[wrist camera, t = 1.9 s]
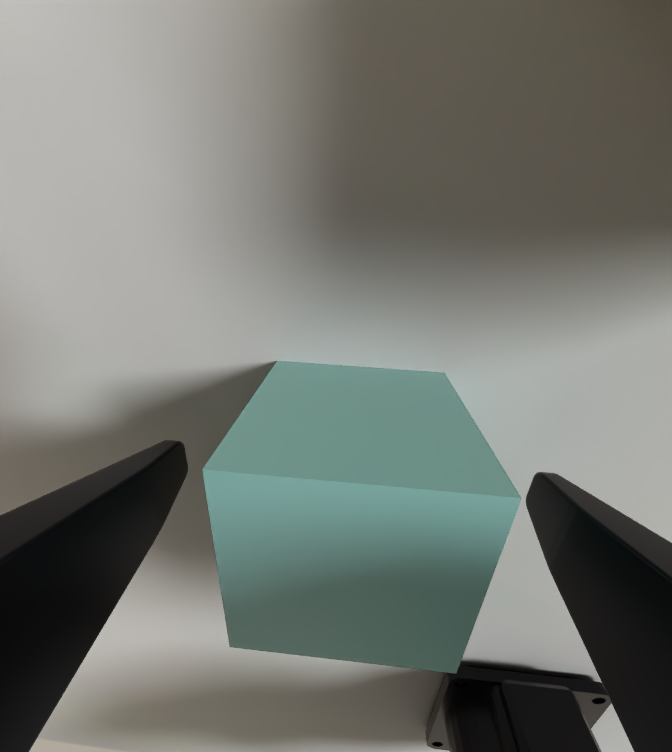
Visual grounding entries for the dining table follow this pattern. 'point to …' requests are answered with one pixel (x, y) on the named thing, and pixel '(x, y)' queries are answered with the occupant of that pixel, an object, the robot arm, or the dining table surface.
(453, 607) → the teal cube
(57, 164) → the dining table surface
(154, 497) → the robot arm
